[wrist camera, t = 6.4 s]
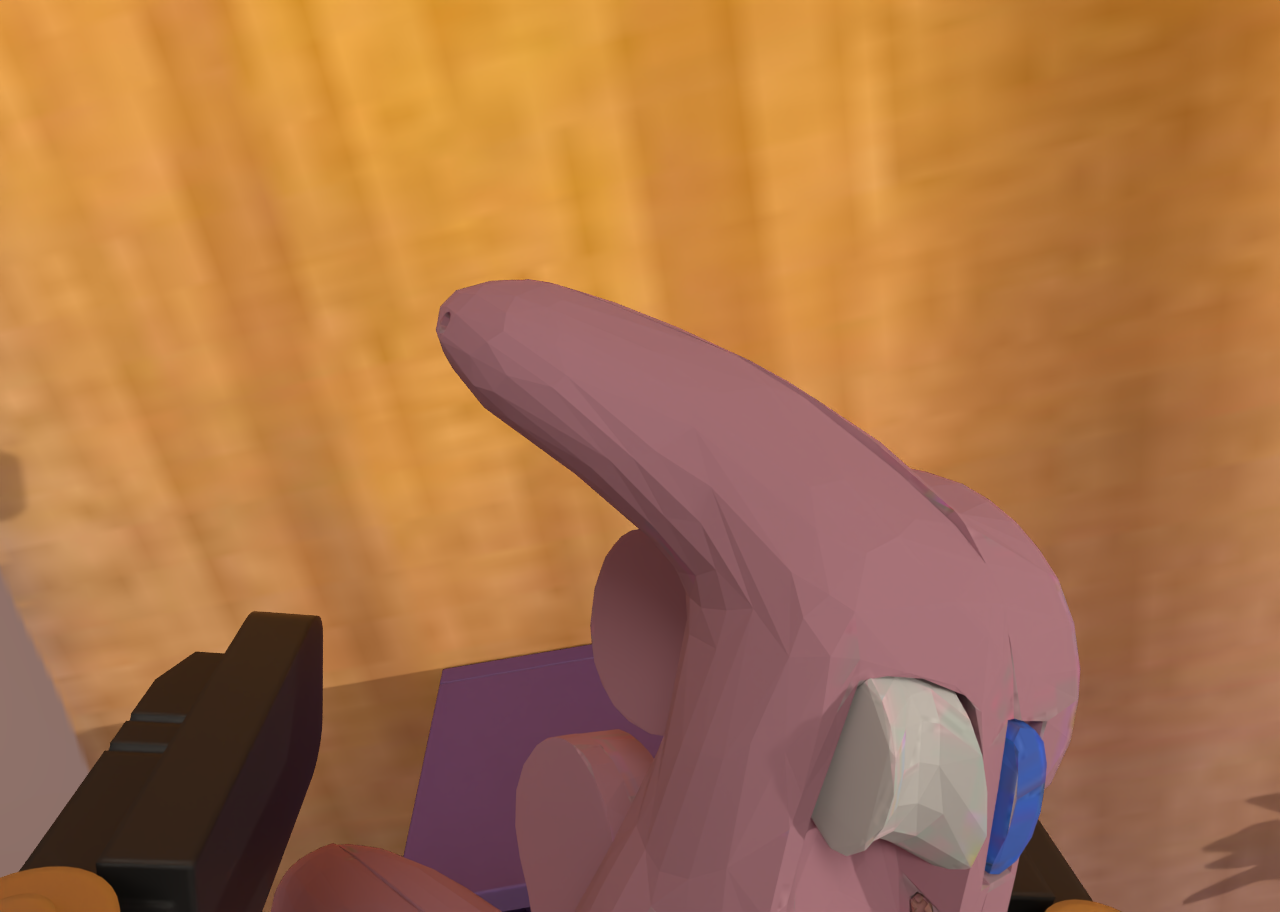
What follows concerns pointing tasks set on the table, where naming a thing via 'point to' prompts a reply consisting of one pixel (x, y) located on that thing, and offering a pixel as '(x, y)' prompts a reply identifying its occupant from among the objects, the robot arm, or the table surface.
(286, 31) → the table surface
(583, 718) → the box
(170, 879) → the robot arm
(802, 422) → the video game controller
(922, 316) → the table surface
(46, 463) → the table surface
